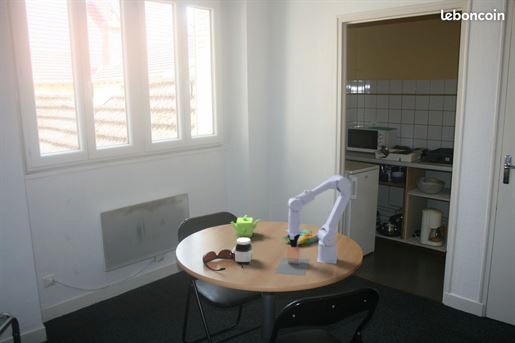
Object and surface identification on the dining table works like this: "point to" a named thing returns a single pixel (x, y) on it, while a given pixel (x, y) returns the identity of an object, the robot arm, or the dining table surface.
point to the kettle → (245, 226)
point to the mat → (292, 267)
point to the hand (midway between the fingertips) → (293, 248)
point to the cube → (293, 255)
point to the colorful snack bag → (304, 237)
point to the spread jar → (243, 251)
